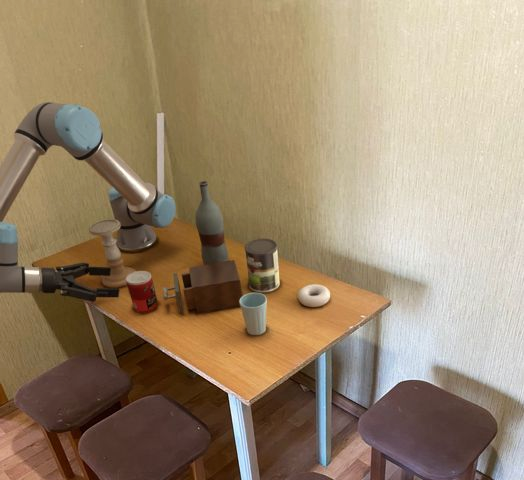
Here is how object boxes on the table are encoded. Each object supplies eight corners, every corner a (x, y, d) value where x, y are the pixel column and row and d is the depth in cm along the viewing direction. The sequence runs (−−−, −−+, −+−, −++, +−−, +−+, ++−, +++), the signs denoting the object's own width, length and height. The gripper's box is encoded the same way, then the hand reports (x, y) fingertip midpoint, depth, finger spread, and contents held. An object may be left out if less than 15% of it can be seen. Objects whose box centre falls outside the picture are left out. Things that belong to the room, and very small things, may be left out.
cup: (261, 340, 150) (257, 309, 143) (238, 333, 153) (234, 303, 147) (274, 326, 155) (271, 295, 148) (251, 320, 158) (248, 290, 152)
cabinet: (197, 313, 163) (191, 287, 157) (193, 293, 173) (188, 267, 167) (243, 305, 164) (240, 279, 159) (237, 285, 174) (234, 259, 168)
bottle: (213, 275, 181) (199, 190, 162) (198, 266, 187) (183, 183, 168) (234, 264, 185) (223, 181, 167) (219, 256, 191) (207, 174, 173)
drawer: (166, 315, 162) (161, 294, 157) (165, 296, 171) (160, 275, 166) (223, 305, 164) (219, 284, 159) (218, 287, 173) (215, 266, 168)
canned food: (153, 313, 165) (145, 283, 159) (130, 312, 167) (121, 283, 160) (161, 300, 171) (154, 270, 164) (139, 299, 173) (131, 270, 166)
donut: (336, 298, 163) (312, 287, 169) (337, 289, 161) (312, 278, 167) (315, 313, 158) (291, 301, 164) (315, 303, 156) (290, 292, 162)
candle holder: (106, 292, 178) (88, 237, 166) (99, 276, 187) (82, 223, 175) (141, 281, 182) (127, 227, 169) (132, 266, 191) (118, 214, 178)
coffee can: (265, 296, 168) (261, 256, 159) (242, 286, 173) (237, 248, 165) (286, 282, 173) (284, 243, 164) (263, 273, 179) (259, 235, 170)
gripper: (36, 271, 165) (106, 273, 175) (44, 313, 147) (121, 313, 157) (37, 249, 161) (108, 253, 171) (44, 290, 143) (123, 291, 153)
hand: (114, 282), depth 164 cm, fingers open, 13 cm apart
